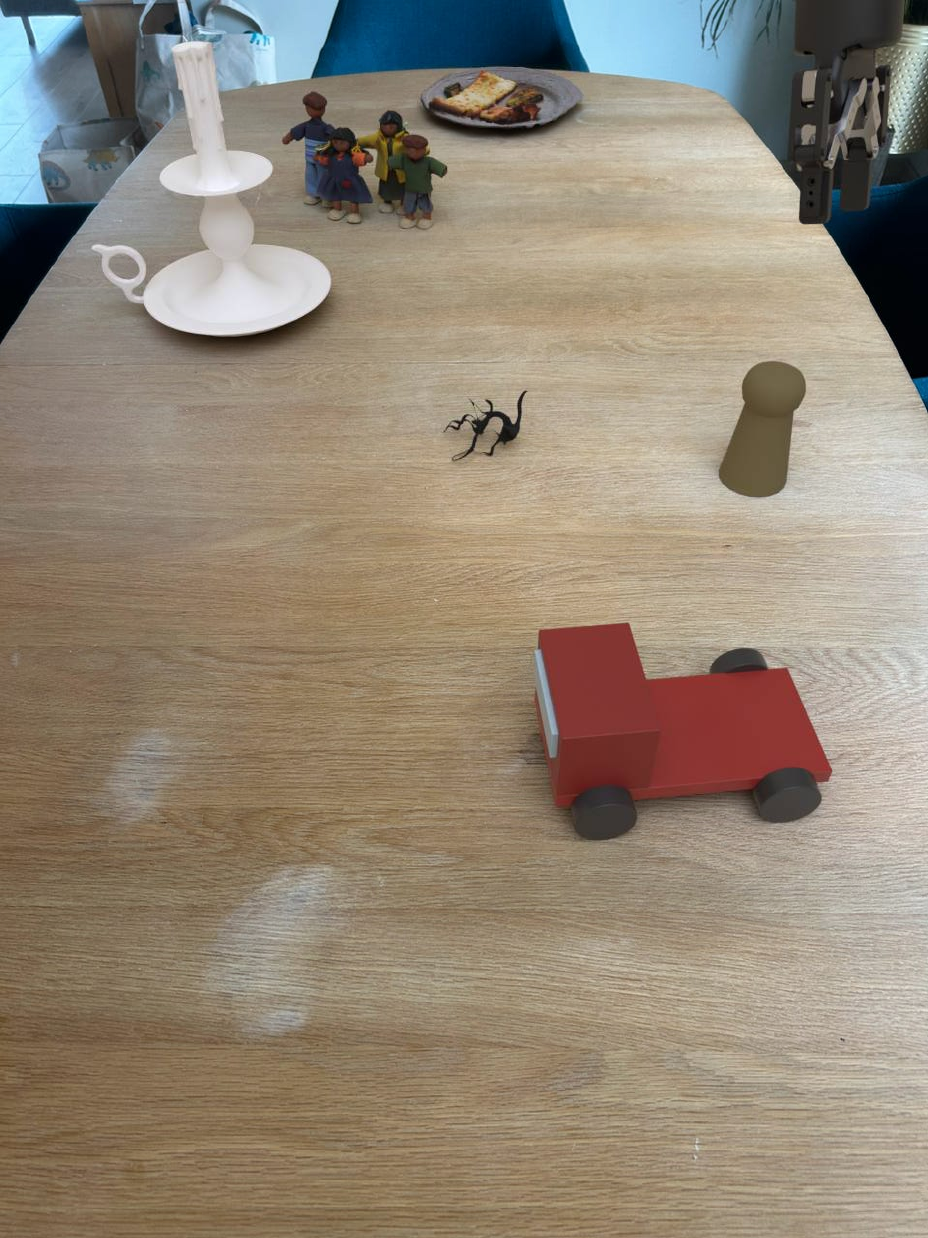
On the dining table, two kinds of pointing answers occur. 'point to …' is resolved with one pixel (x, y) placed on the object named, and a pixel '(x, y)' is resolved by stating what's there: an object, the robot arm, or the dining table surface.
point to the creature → (507, 430)
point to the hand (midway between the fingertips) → (834, 216)
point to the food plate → (501, 97)
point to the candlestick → (221, 232)
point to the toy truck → (668, 731)
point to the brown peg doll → (763, 430)
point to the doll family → (340, 158)
